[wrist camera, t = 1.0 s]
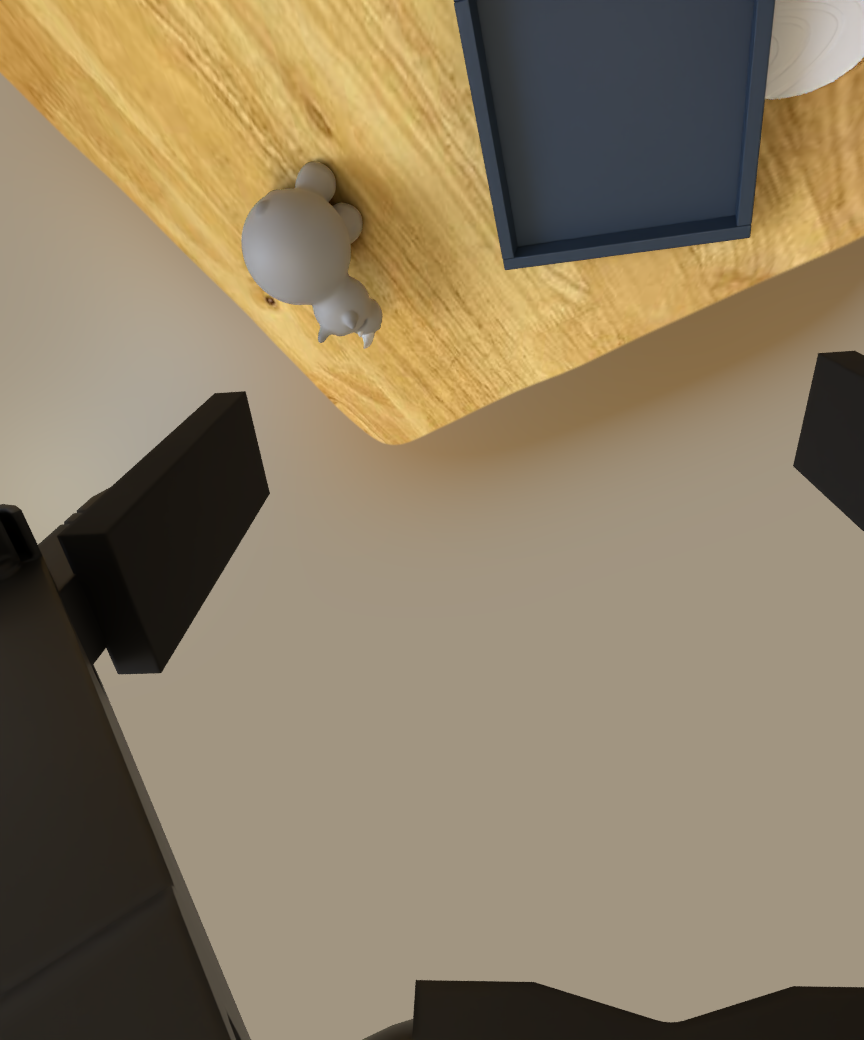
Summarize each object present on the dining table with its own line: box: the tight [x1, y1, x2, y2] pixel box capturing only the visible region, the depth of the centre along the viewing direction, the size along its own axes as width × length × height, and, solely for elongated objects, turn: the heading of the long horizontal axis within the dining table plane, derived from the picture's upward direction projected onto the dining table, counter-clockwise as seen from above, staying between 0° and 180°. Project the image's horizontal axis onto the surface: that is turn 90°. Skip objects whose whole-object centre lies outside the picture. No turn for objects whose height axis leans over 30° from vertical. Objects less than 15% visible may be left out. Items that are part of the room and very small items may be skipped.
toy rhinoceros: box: [242, 162, 382, 349], centre depth 44 cm, size 7×12×8 cm, turn 31°
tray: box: [454, 0, 775, 270], centre depth 35 cm, size 16×15×2 cm
